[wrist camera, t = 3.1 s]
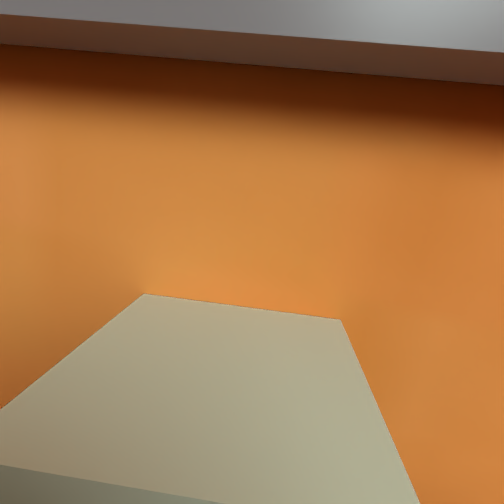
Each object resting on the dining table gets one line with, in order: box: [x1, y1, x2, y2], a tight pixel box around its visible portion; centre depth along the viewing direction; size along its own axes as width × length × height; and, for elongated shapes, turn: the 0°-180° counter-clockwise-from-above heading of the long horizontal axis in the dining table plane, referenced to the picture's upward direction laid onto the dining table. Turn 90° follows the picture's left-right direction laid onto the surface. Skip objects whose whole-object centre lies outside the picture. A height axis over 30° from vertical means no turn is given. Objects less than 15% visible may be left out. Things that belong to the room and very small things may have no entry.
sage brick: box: [0, 294, 420, 504], centre depth 6 cm, size 5×5×5 cm
